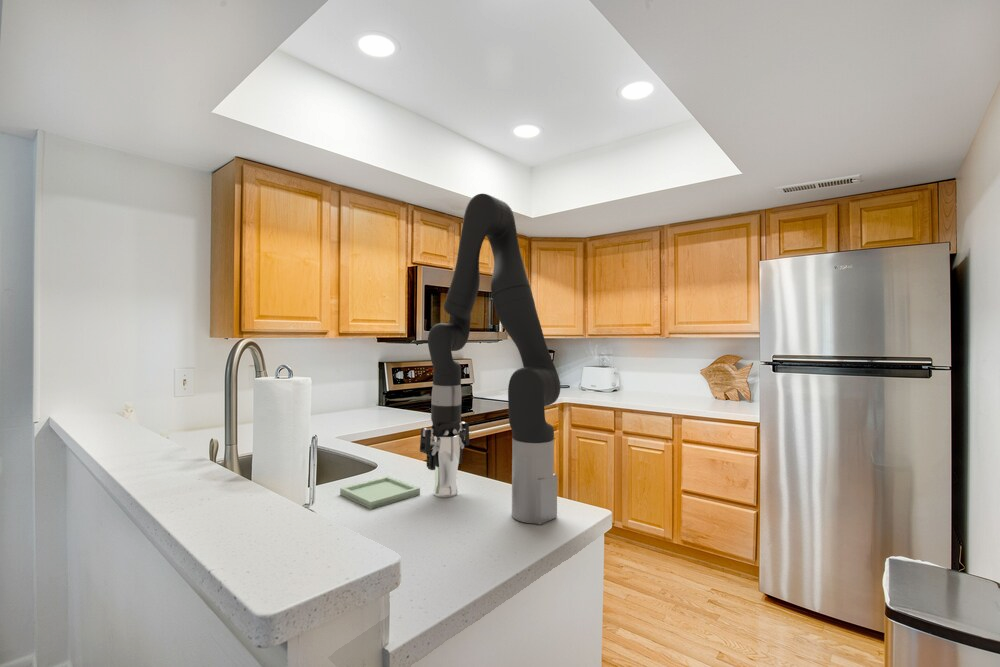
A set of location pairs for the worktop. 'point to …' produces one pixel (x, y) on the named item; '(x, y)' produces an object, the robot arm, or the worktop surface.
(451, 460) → the beer glass
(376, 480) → the tray
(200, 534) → the worktop surface
